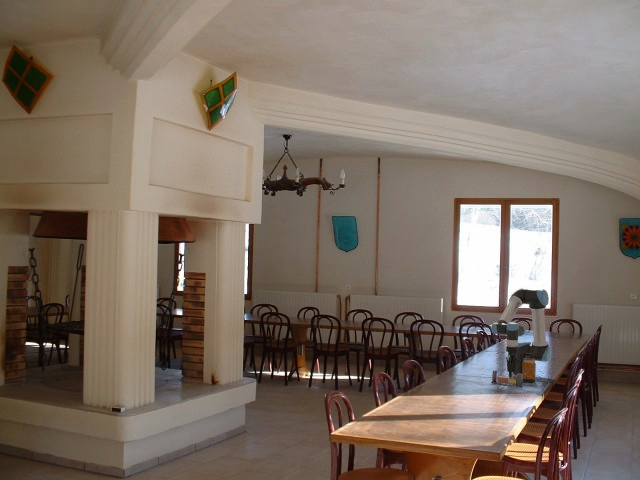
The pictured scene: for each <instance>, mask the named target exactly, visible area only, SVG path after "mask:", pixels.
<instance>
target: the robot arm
mask: <svg viewBox="0 0 640 480" xmlns="http://www.w3.org/2000/svg"><path fill="white" fill-rule="evenodd" d="M549 299H550V298H549V293H548V291H547V290H546V289H544V288H536V287H535V288H534V287H533V288H531V287H521V288H519V289H518V290H515V291H514V292H513V293H512V294H511V295H510V297H509V299H508V303H507V305H506V307H505V308H504V310H503V312H502V313H501V316H500V317H499V320H498V321H497V322H492V324H491V325H490V326H491V327H490V330H491V332H492V334H495V335H502V336H503V335H504V336H506V340H505V342H506V344H505V345H506V346H505V351H506V353H507V356H506V358H505V360H506V371H507V372H508V378H513V376H514V375H517V374H519V373H520V356H519V355H521V354H523V353H524V352H526V353H533V354H535V356H533V357H532V358H533V359H535V362H540V363H541V362H544V363H547V362H549V361H550V360H551V356H552V352H553V348H552V345H549V342H548V340H547V337H546V336H547V335H546V319H545V317H546V315H545V309H546V308H547V306H548V305H549V301H550V300H549ZM523 305H528V307H529V309H530V310H531V323H532V336H533V341H531V342H530V341H519V337H522V336H524V335H525V334H526V329H527V328H526V327H525V326H524V325H523V324H519V323H518V322H512V321H513V319H514V317H515V315H516V313H517V311H518V310H519V308H521V307H522V306H523ZM523 356H524V355H523ZM523 356H521V357H523ZM522 363H523V359H522Z"/></svg>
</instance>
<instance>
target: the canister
mask: <svg viewBox="0 0 640 480" xmlns="http://www.w3.org/2000/svg"><path fill="white" fill-rule="evenodd" d="M523 355H524V356H523ZM519 356H520V373H519V374H523V382H524V383H527V384H528V383H530V384H532V383H533V384H534V383H535V382H536V375H537V374H536V371H537V364H536V361H535V359H533V358H532V357H533V356H535V354H533V353H526V352H524V353H523V354H521V355H519ZM521 356H523V357H521ZM522 359H523V363H522Z"/></svg>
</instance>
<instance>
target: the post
mask: <svg viewBox="0 0 640 480" xmlns="http://www.w3.org/2000/svg"><path fill="white" fill-rule="evenodd" d="M497 373H498V371H497V370H492V375H491V376H492V379H491V380H492V381H491V382H490V383H492V384H498V383H497V380H498V376H497V375H498V374H497Z"/></svg>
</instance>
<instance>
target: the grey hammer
mask: <svg viewBox="0 0 640 480" xmlns="http://www.w3.org/2000/svg"><path fill="white" fill-rule="evenodd" d="M516 376H517V379H510V378H509V377H508V383H511V384H516V386H515V387H519V388H522V387H523V382H524V381H523V374H516ZM511 384H510V385H511Z"/></svg>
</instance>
